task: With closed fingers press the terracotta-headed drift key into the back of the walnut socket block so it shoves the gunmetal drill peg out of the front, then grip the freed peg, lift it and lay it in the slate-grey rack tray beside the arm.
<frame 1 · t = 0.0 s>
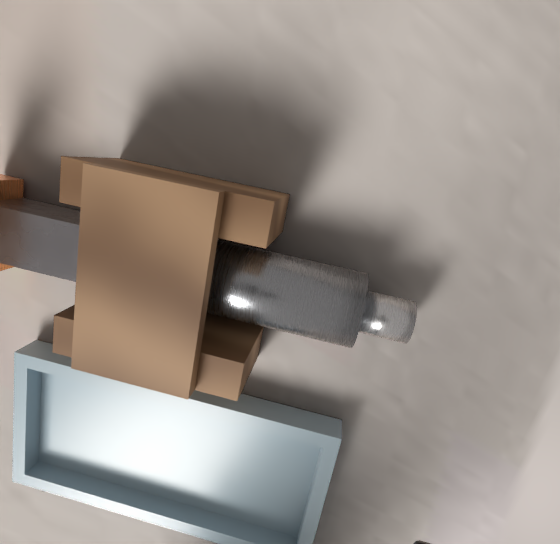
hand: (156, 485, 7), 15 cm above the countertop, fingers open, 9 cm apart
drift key: (33, 244, 20), point 3 cm above the countertop, slide at 0.0 cm
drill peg: (255, 274, 22), on the countertop
rack tray: (173, 443, 25), on the countertop
socket block: (191, 261, 22), on the countertop
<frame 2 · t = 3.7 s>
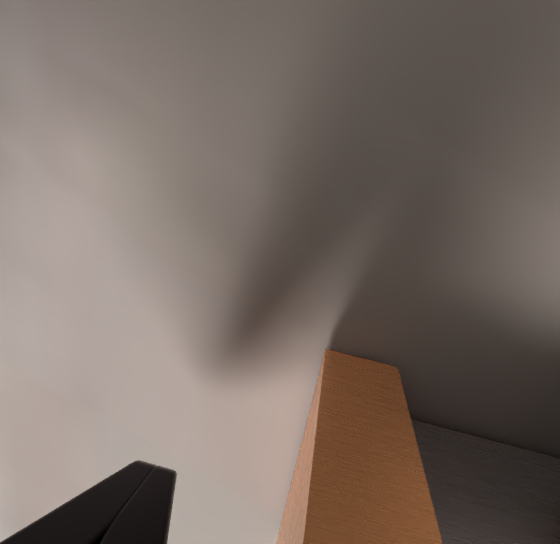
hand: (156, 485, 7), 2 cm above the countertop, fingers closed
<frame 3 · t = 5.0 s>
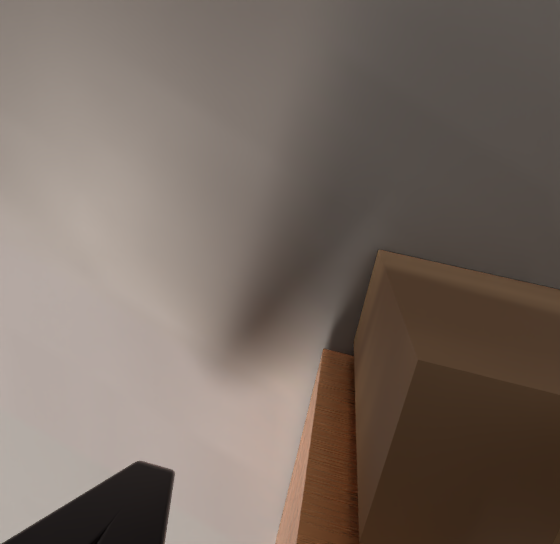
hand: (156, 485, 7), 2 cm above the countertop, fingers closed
socket block: (542, 511, 8), on the countertop
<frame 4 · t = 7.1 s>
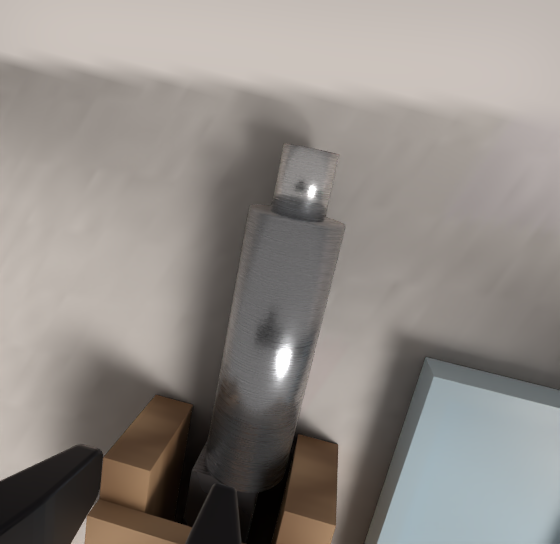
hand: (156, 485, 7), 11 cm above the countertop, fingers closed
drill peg: (263, 329, 18), on the countertop, tilted 19°
socket block: (229, 494, 21), on the countertop
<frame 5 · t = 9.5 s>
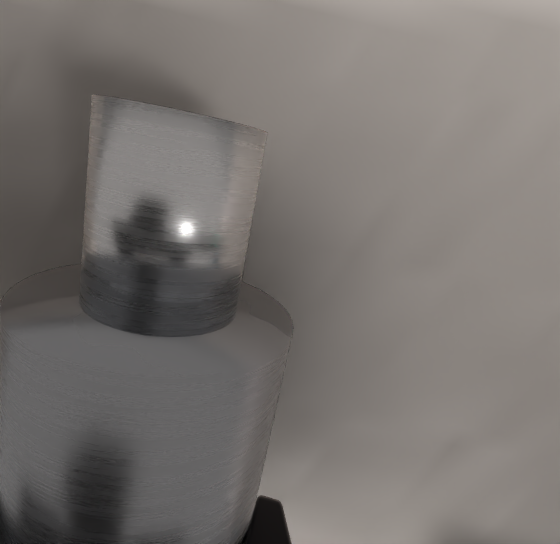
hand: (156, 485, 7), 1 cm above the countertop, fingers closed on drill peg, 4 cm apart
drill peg: (169, 515, 9), on the countertop, touching gripper
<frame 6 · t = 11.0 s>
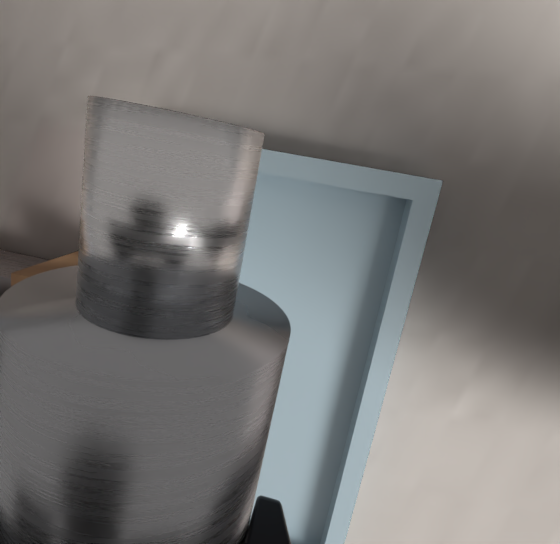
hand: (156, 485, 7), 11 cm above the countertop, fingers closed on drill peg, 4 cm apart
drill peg: (168, 516, 9), point 10 cm above the countertop, touching gripper
rack tray: (273, 372, 18), on the countertop
socket block: (33, 329, 19), on the countertop
when the fingers open (2 cm above the countertop, at t = 13.0 s): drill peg stays where it is, resting on rack tray.
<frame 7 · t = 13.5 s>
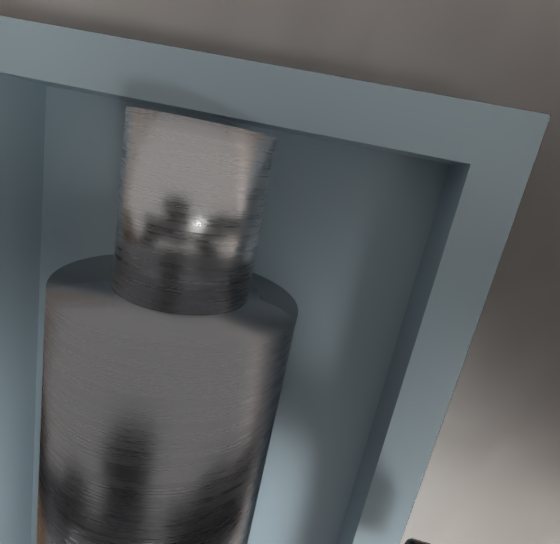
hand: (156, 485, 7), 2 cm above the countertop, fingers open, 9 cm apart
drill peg: (183, 489, 9), resting on rack tray
rack tray: (186, 487, 10), on the countertop
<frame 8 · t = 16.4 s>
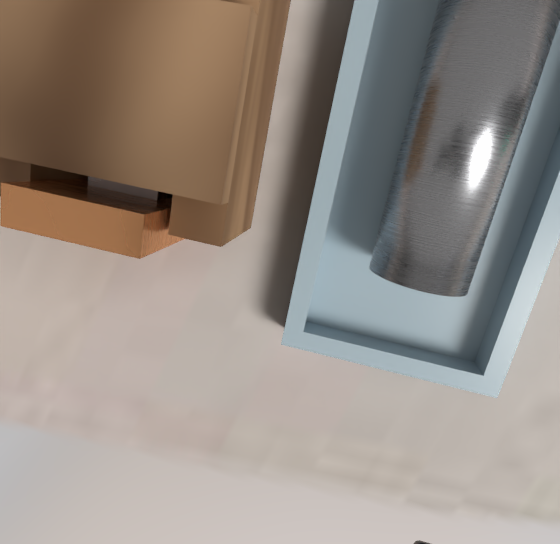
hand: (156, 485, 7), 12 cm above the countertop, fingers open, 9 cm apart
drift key: (127, 110, 15), point 3 cm above the countertop, slide at 6.0 cm
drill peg: (451, 130, 16), resting on rack tray
rack tray: (443, 142, 16), on the countertop
socket block: (166, 101, 17), on the countertop
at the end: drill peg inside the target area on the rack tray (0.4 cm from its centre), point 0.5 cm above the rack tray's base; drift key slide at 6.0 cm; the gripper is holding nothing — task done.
